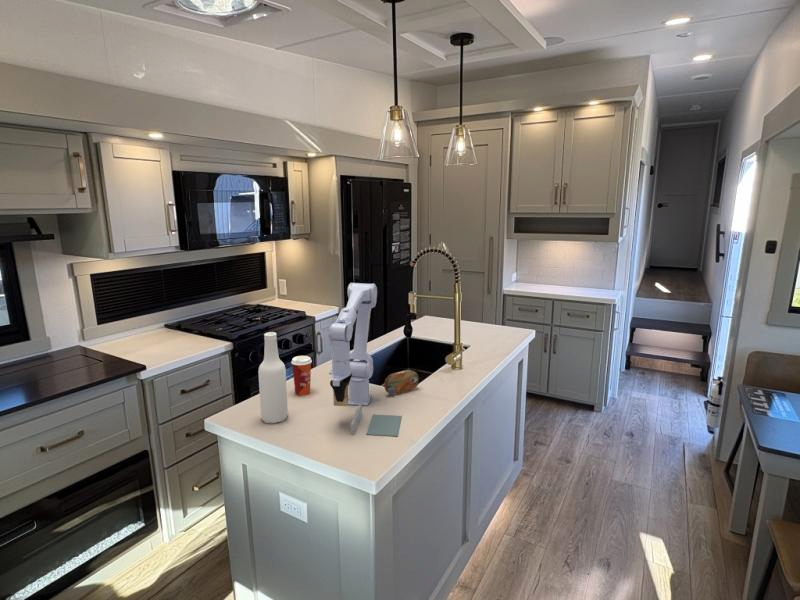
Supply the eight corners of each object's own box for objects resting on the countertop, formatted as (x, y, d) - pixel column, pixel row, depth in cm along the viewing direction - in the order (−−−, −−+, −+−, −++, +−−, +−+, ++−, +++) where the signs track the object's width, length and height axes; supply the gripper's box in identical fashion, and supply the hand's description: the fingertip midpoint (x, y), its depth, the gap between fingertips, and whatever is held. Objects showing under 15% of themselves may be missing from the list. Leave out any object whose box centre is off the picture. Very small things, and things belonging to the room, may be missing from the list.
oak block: (336, 400, 152) (336, 383, 150) (348, 401, 151) (348, 384, 150) (333, 405, 148) (333, 388, 146) (345, 406, 147) (345, 389, 146)
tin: (387, 398, 171) (387, 377, 169) (382, 395, 174) (382, 374, 172) (419, 389, 179) (419, 369, 178) (414, 386, 182) (414, 367, 180)
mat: (372, 415, 157) (372, 414, 157) (401, 416, 156) (401, 415, 156) (366, 434, 143) (366, 434, 143) (397, 436, 142) (397, 435, 142)
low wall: (358, 414, 157) (358, 405, 156) (361, 414, 157) (361, 405, 156) (350, 434, 144) (350, 423, 143) (353, 434, 143) (353, 424, 143)
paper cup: (306, 398, 170) (305, 362, 167) (288, 395, 173) (287, 360, 170) (316, 390, 177) (315, 356, 175) (299, 387, 180) (298, 354, 177)
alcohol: (257, 416, 155) (252, 332, 149) (282, 410, 160) (278, 328, 154) (266, 426, 148) (261, 338, 142) (292, 419, 153) (288, 334, 147)
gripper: (334, 351, 154) (335, 389, 156) (322, 366, 140) (324, 407, 142) (354, 352, 153) (355, 390, 156) (345, 367, 139) (345, 408, 142)
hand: (341, 398), depth 149 cm, fingers closed on oak block, 4 cm apart
